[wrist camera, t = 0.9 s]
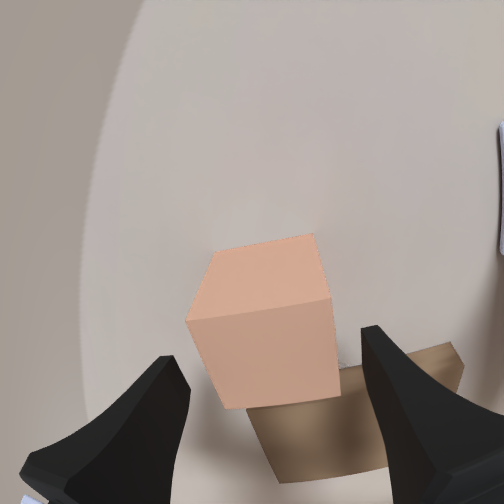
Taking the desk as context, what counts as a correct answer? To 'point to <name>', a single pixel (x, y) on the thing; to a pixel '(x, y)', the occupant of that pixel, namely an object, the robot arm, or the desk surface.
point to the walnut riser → (338, 424)
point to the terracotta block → (267, 325)
